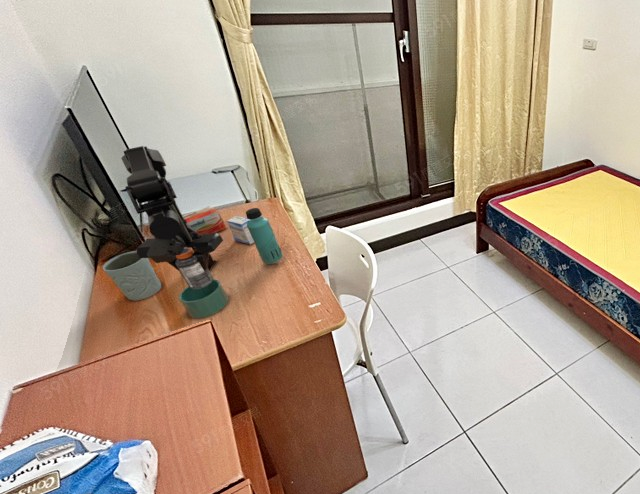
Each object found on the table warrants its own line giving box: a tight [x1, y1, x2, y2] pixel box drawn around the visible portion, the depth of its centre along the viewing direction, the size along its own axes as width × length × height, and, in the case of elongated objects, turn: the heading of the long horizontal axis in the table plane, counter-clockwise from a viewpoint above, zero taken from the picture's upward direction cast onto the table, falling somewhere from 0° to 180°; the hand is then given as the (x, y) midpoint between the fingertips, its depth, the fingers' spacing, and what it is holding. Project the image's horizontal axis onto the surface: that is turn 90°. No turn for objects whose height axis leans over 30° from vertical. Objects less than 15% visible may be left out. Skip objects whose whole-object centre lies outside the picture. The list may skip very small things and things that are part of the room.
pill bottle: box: [175, 248, 214, 289], centre depth 110 cm, size 6×6×11 cm
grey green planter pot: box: [102, 250, 162, 302], centre depth 121 cm, size 10×10×12 cm
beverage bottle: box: [245, 207, 283, 265], centre depth 129 cm, size 6×7×20 cm
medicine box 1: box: [182, 205, 227, 235], centre depth 150 cm, size 15×8×8 cm, turn 142°
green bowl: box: [178, 278, 229, 319], centre depth 115 cm, size 10×10×6 cm
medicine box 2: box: [226, 215, 255, 245], centre depth 145 cm, size 8×4×9 cm, turn 68°
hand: (194, 270), depth 111 cm, fingers closed on pill bottle, 6 cm apart
